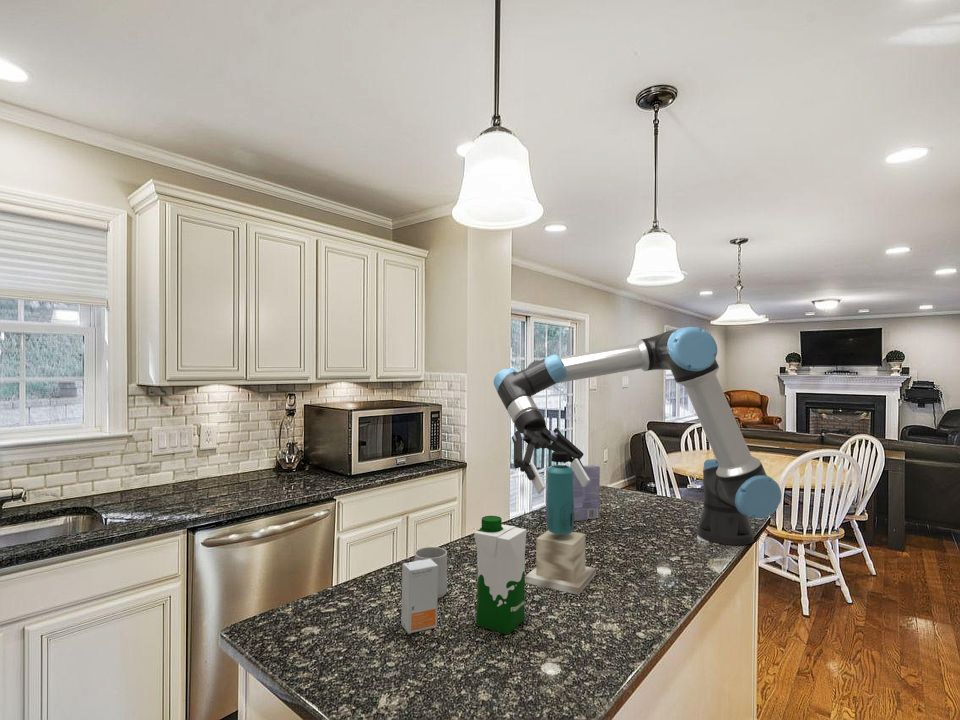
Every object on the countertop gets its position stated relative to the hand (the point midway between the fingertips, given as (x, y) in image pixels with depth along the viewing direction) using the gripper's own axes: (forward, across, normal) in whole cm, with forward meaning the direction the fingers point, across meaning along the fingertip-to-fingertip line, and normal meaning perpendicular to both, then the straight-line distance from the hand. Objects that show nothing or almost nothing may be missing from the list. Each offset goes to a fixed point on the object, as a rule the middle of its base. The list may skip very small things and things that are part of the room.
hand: (564, 487), depth 121 cm
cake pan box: (-10, -35, -42) cm, 56 cm away
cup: (+9, +31, -23) cm, 40 cm away
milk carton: (+22, +24, -9) cm, 34 cm away
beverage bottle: (+8, 0, -10) cm, 12 cm away
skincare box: (+17, +38, -14) cm, 44 cm away
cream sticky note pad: (+14, 0, -17) cm, 22 cm away
